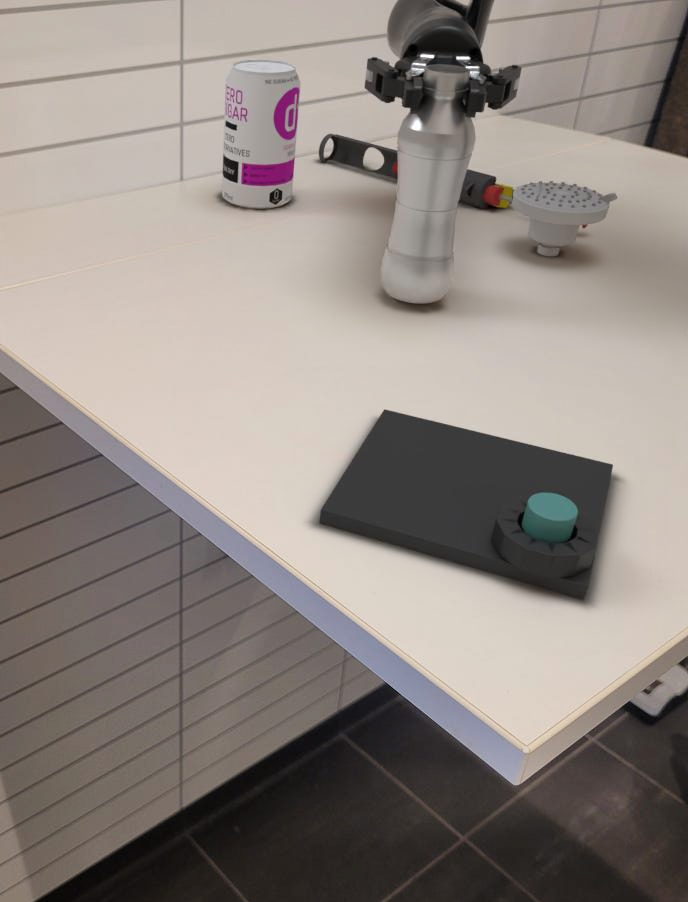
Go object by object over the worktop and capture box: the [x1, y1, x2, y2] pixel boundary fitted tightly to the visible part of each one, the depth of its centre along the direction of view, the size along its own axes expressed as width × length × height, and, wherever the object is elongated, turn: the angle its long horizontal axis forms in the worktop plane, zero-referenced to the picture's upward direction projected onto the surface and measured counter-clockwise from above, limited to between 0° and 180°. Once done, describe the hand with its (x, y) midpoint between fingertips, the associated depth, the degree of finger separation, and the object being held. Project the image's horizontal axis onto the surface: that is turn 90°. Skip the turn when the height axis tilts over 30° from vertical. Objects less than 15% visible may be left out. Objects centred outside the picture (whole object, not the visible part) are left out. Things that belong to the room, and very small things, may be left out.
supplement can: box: [221, 59, 301, 210], centre depth 107 cm, size 8×8×15 cm
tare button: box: [522, 493, 578, 543], centre depth 55 cm, size 3×3×2 cm
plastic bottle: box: [379, 64, 477, 305], centre depth 82 cm, size 6×7×20 cm
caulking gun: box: [318, 133, 589, 229], centre depth 115 cm, size 4×37×10 cm
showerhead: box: [511, 180, 619, 257], centre depth 97 cm, size 9×7×10 cm
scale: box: [318, 408, 614, 601], centre depth 61 cm, size 16×14×3 cm
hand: (444, 102), depth 76 cm, fingers closed on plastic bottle, 4 cm apart
